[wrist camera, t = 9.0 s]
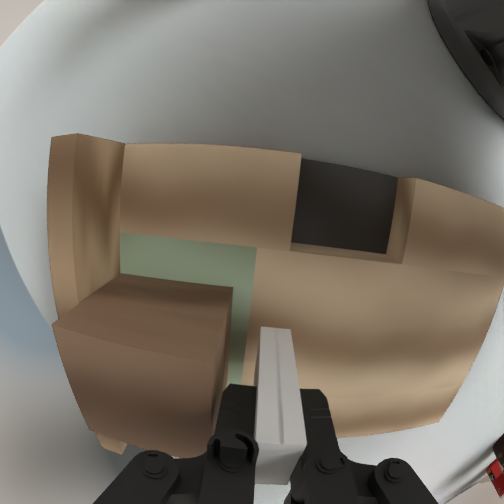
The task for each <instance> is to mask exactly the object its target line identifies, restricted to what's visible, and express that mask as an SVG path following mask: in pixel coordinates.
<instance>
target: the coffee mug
mask: <svg viewBox="0 0 504 504" xmlns="http://www.w3.org/2000/svg"><path fill="white" fill-rule="evenodd" d="M493 451H494V453H495V455H496V458H497V460H498V463H499V465H500V468H501V470H502V473H503V476H504V434H503V435H502V436H501V437H500V438H499V439H498V441H497V442H496V443H495V444H494V446H493Z"/></svg>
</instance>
